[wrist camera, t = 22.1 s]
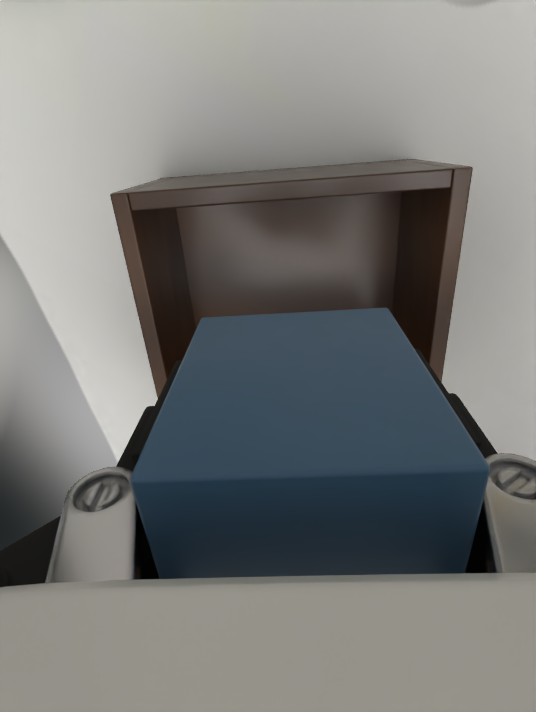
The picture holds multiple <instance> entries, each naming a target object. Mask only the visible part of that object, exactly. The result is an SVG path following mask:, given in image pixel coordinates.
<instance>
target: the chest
mask: <svg viewBox="0 0 536 712" xmlns="http://www.w3.org/2000/svg"><path fill="white" fill-rule="evenodd" d="M471 175H472V167H469V166H462V165H454V164H446V163H439V162H431V161H423V160H416V159H407V160H394V161H380V162H367V163H354V164H341V165H328V166H315V167H302V168H288V169H275V170H262V171H249V172H236V173H223V174H210V175H197V176H183V177H170V178H161V179H158V180H155V181H151V182H148V183H145V184H141V185H138V186H135V187H131V188H128V189H125V190H121V191H118V192H115V193H112V194H111V195H110V196H111V200H112V204H113V209H114V213H115V217H116V222H117V226H118V230H119V234H120V239H121V243H122V247H123V252H124V256H125V260H126V264H127V269H128V273H129V277H130V282H131V286H132V290H133V294H134V299H135V303H136V307H137V312H138V316H139V320H140V324H141V329H142V333H143V337H144V341H145V346H146V350H147V354H148V359H149V363H150V367H151V371H152V376H153V380H154V384H155V389H156V393H157V397H158V398H159V396H160V394H161V392H162V390H163V387H164V385H165V383H166V381H167V379H168V377H169V375H170V373H171V371H172V368H173V366H174V364H175V362H176V361H180V360H183V358H184V356H185V354H186V351H187V349H188V347H189V345H190V342H191V340H192V338H193V336H194V333H195V331H196V329H197V327H198V324H199V322H200V320H201V318H205V317H223V316H241V315H260V314H278V313H296V312H315V311H333V310H351V309H370V308H388V309H389V310H390V312H391V314H392V315H393V317H394V318H395V320H396V321H397V323H398V324H399V326H400V328H401V329H402V331H403V332H404V334H405V335H406V337H407V338H408V340H409V342H410V343H411V345H412V346H413V348H414V349H419V350H420V351H421V353H422V354H423V356H424V357H425V359H426V360H427V362H428V363H429V365H430V366H431V368H432V369H433V371H434V372H435V374H436V375H437V377H438V378H439V380H440V381H442V374H443V367H444V360H445V353H446V347H447V340H448V333H449V326H450V319H451V312H452V306H453V299H454V292H455V285H456V278H457V271H458V264H459V258H460V251H461V244H462V237H463V230H464V223H465V217H466V210H467V203H468V196H469V189H470V182H471Z"/></svg>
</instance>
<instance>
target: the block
mask: <svg viewBox="0 0 536 712" xmlns="http://www.w3.org/2000/svg"><path fill="white" fill-rule="evenodd" d="M489 474H490V467H489V464H488V463H487V461H486V460H485V458H484V457H483V455H482V453H481V452H480V450H479V449H478V447H477V446H476V444H475V443H474V441H473V439H472V438H471V436H470V435H469V433H468V432H467V430H466V429H465V427H464V425H463V424H462V422H461V421H460V419H459V418H458V416H457V415H456V413H455V412H454V410H453V408H452V407H451V405H450V404H449V402H448V401H447V399H446V398H445V396H444V394H443V393H442V391H441V390H440V388H439V387H438V385H437V384H436V382H435V380H434V379H433V377H432V376H431V374H430V373H429V371H428V370H427V368H426V366H425V365H424V363H423V362H422V360H421V359H420V357H419V356H418V354H417V352H416V351H415V349H414V348H413V346H412V345H411V343H410V342H409V340H408V338H407V337H406V335H405V334H404V332H403V331H402V329H401V328H400V326H399V324H398V323H397V321H396V320H395V318H394V317H393V315H392V314H391V312H390V310H389V309H388V308H370V309H351V310H333V311H315V312H296V313H278V314H260V315H241V316H223V317H205V318H201V320H200V322H199V324H198V327H197V329H196V331H195V333H194V336H193V338H192V340H191V342H190V345H189V347H188V349H187V351H186V354H185V356H184V358H183V360H182V363H181V365H180V367H179V369H178V372H177V374H176V376H175V378H174V381H173V383H172V385H171V387H170V389H169V392H168V394H167V396H166V398H165V401H164V403H163V405H162V407H161V410H160V412H159V414H158V416H157V419H156V421H155V423H154V425H153V428H152V430H151V432H150V434H149V437H148V439H147V441H146V443H145V446H144V448H143V450H142V452H141V455H140V457H139V459H138V461H137V464H136V466H135V468H134V470H133V472H132V475H131V477H130V484H131V487H132V491H133V494H134V497H135V500H136V504H137V507H138V510H139V514H140V517H141V520H142V523H143V527H144V530H145V533H146V536H147V540H148V543H149V546H150V550H151V553H152V556H153V559H154V563H155V566H156V569H157V573H158V576H159V579H183V578H224V577H271V576H324V575H381V574H456V573H465V572H466V568H467V564H468V560H469V556H470V552H471V548H472V544H473V540H474V536H475V531H476V527H477V523H478V519H479V515H480V511H481V507H482V503H483V499H484V494H485V490H486V486H487V482H488V478H489Z"/></svg>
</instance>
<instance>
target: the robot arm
mask: <svg viewBox="0 0 536 712" xmlns="http://www.w3.org/2000/svg"><path fill="white" fill-rule="evenodd" d="M415 351H416V352H417V354H418V356H419V357H420V359H421V360H422V362H423V363H424V365H425V366H426V368H427V370H428V371H429V373H430V374H431V376H432V377H433V379H434V380H435V382H436V384H437V385H438V387H439V388H440V390H441V391H442V393H443V394H444V396H445V398H446V399H447V401H448V402H449V404H450V405H451V407H452V408H453V410H454V412H455V413H456V415H457V416H458V418H459V419H460V421H461V422H462V424H463V425H464V427H465V429H466V430H467V432H468V433H469V435H470V436H471V438H472V439H473V441H474V443H475V444H476V446H477V447H478V449H479V450H480V452H481V453H482V455H483V457H484V458H485V460H486V461H487V463H488V464H489V467H490V474H489V478H488V482H487V486H486V490H485V494H484V499H483V503H482V507H481V511H480V515H479V519H478V523H477V527H476V531H475V536H474V540H473V544H472V548H471V552H470V556H469V560H468V564H467V568H466V572H465V573H456V574H381V575H324V576H271V577H224V578H183V579H159V576H158V573H157V569H156V566H155V563H154V559H153V556H152V553H151V550H150V546H149V543H148V540H147V536H146V533H145V530H144V527H143V523H142V520H141V517H140V514H139V510H138V507H137V504H136V500H135V497H134V494H133V491H132V487H131V484H130V477H131V475H132V472H133V470H134V468H135V466H136V464H137V461H138V459H139V457H140V455H141V452H142V450H143V448H144V446H145V443H146V441H147V439H148V437H149V434H150V432H151V430H152V428H153V425H154V423H155V421H156V419H157V416H158V414H159V412H160V410H161V407H162V405H163V403H164V401H165V398H166V396H167V394H168V392H169V389H170V387H171V385H172V383H173V381H174V378H175V376H176V374H177V372H178V369H179V367H180V365H181V363H182V360H180V361H176V362H175V364H174V366H173V368H172V371H171V373H170V375H169V377H168V379H167V381H166V383H165V385H164V387H163V390H162V392H161V394H160V396H159V398H158V400H157V402H156V404H155V406H149V407H147V408H146V409H145V411H144V413H143V415H142V417H141V419H140V421H139V423H138V425H137V427H136V429H135V430H134V432H133V434H132V436H131V438H130V440H129V442H128V444H127V446H126V448H125V450H124V452H123V454H122V456H121V458H120V460H119V462H118V464H117V466H116V467H107V468H102V469H99V470H96V471H93V472H91V473H90V474H88V475H86V476H84V477H82V478H81V479H80V480H78V481H77V482H76V483H75V484H74V485H73V486H72V487H71V489H70V490H69V491H68V493H67V495H66V498H65V501H64V505H63V509H62V513H61V516H60V517H58V518H56V519H54V520H53V521H51V522H49V523H47V524H46V525H44V526H42V527H41V528H39V529H37V530H35V531H34V532H32V533H30V534H29V535H27V536H25V537H23V538H22V539H20V540H19V541H17V542H15V543H13V544H11V545H10V546H8V547H6V548H4V549H3V550H1V551H0V712H536V461H534V460H532V459H529V458H527V457H524V456H519V455H515V454H504V453H500V454H498V453H497V452H496V451H495V449H494V448H493V446H492V445H491V443H490V442H489V441H488V439H487V438H486V436H485V435H484V433H483V432H482V430H481V429H480V428H479V426H478V425H477V423H476V422H475V420H474V419H473V417H472V416H471V415H470V413H469V412H468V410H467V409H466V407H465V406H464V404H463V403H462V402H461V400H460V399H459V397H458V396H457V395H456V394H453V393H450V394H449V393H448V392H447V390H446V389H445V387H444V386H443V384H442V383H441V381H440V380H439V378H438V377H437V375H436V374H435V372H434V371H433V369H432V368H431V366H430V365H429V363H428V362H427V360H426V359H425V357H424V356H423V354H422V353H421V351H420V350H419V349H415Z"/></svg>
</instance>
